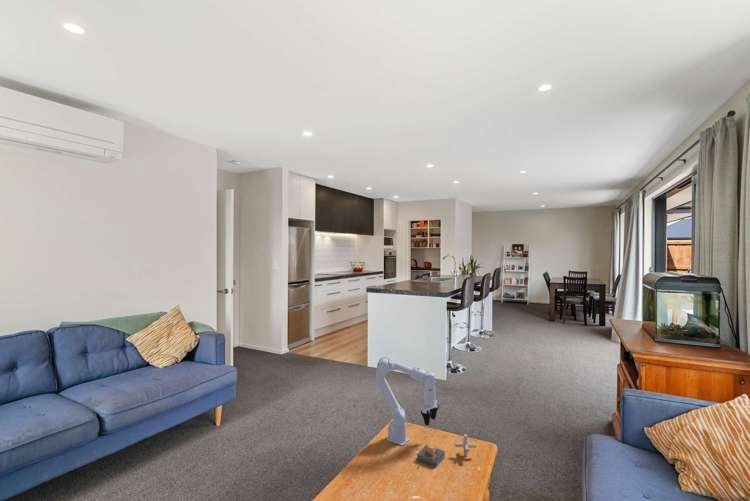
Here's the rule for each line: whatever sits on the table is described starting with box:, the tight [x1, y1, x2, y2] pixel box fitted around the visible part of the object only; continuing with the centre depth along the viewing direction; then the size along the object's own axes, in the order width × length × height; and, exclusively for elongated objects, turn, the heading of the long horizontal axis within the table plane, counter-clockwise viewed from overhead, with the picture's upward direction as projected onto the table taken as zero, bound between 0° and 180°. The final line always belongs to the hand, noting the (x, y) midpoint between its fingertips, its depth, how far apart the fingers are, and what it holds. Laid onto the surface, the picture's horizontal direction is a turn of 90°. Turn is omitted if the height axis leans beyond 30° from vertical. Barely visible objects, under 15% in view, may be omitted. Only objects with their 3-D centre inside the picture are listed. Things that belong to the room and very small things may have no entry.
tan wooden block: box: [427, 443, 437, 456], centre depth 171 cm, size 3×3×6 cm
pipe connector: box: [454, 433, 477, 458], centre depth 174 cm, size 10×10×10 cm
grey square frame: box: [416, 444, 446, 468], centre depth 171 cm, size 10×10×3 cm
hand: (430, 421), depth 187 cm, fingers open, 7 cm apart
